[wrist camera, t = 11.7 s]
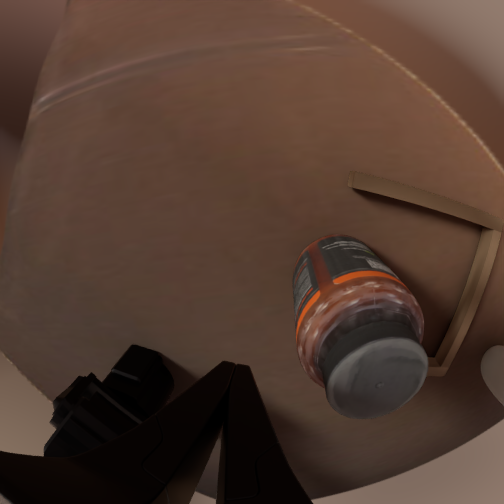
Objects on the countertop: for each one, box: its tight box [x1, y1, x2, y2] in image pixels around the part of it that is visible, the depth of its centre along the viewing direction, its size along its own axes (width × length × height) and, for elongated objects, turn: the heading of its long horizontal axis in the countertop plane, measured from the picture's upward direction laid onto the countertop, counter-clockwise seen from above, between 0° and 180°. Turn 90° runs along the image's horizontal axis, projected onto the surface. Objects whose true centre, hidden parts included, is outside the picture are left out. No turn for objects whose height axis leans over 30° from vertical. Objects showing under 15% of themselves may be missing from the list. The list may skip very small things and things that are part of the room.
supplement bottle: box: [293, 234, 428, 419], centre depth 14 cm, size 6×6×11 cm
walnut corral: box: [347, 171, 504, 376], centre depth 18 cm, size 14×13×2 cm
